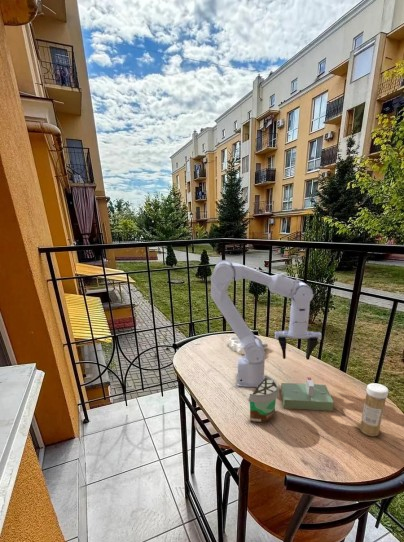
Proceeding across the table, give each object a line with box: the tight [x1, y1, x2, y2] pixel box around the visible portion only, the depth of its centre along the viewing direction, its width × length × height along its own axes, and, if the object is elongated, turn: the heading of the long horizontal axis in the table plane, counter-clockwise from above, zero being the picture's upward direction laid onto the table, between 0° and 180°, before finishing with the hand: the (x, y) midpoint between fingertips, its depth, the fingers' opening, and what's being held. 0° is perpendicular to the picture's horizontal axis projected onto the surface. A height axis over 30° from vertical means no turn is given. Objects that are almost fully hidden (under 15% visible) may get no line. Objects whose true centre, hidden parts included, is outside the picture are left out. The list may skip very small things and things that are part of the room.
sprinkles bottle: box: [359, 382, 389, 437], centre depth 72 cm, size 5×5×14 cm
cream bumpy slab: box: [228, 336, 268, 356], centre depth 127 cm, size 3×18×15 cm
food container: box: [248, 375, 280, 425], centre depth 80 cm, size 12×6×10 cm, turn 148°
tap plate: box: [280, 382, 335, 412], centre depth 88 cm, size 14×10×3 cm
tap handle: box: [305, 376, 315, 397], centre depth 87 cm, size 5×1×4 cm, turn 170°
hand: (295, 358), depth 96 cm, fingers open, 7 cm apart
